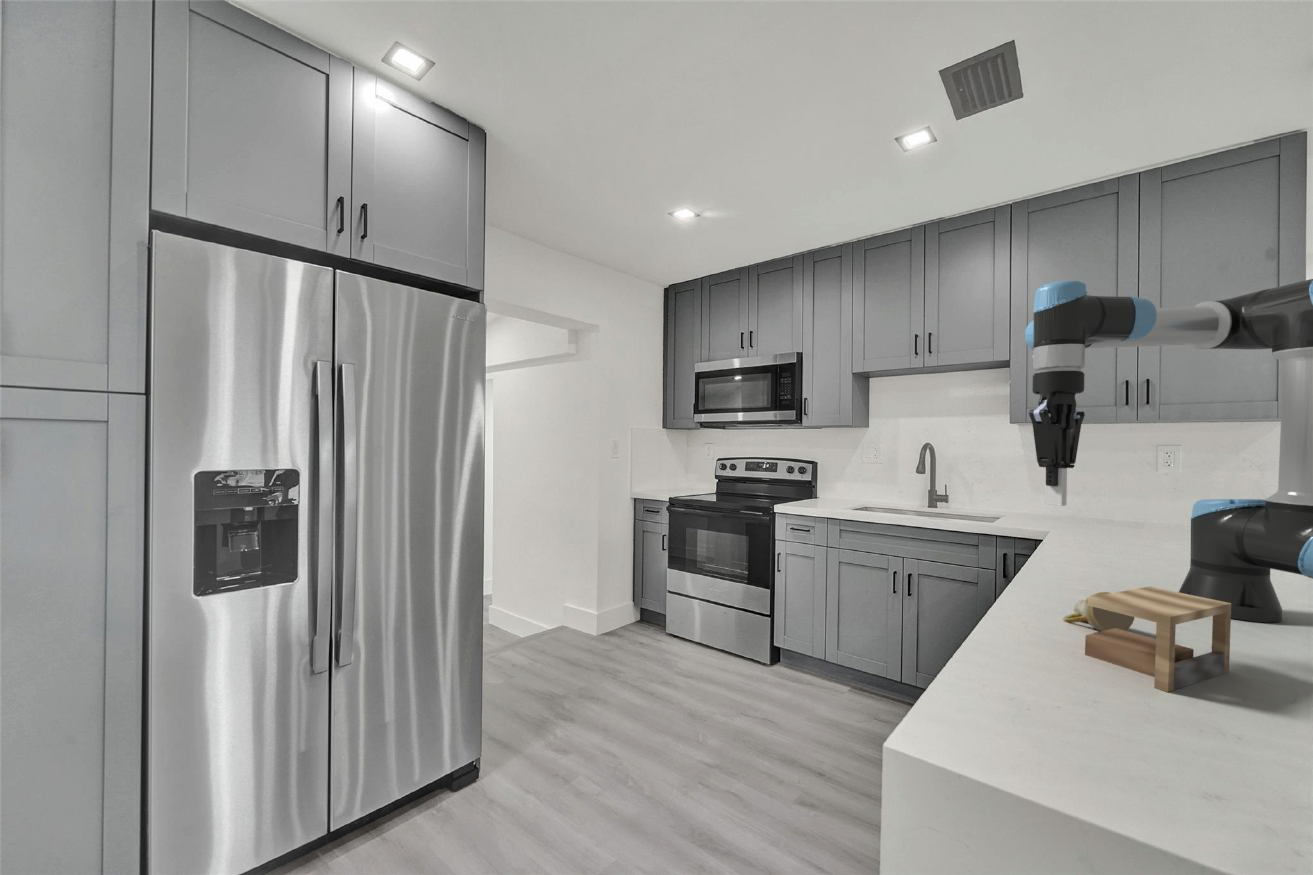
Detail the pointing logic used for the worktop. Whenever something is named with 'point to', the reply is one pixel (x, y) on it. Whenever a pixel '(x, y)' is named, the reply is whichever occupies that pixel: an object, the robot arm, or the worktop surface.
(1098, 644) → the slab
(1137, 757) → the worktop surface
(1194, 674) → the shelf
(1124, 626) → the mug
